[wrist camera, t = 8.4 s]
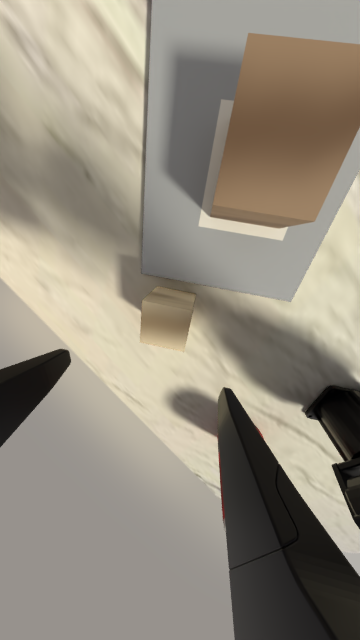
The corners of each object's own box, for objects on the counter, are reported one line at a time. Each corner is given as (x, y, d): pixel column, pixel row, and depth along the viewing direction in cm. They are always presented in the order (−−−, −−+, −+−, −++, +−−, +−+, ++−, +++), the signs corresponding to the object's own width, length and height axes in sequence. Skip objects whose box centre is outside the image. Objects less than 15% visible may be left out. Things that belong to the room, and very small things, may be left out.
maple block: (188, 327, 20) (184, 351, 15) (154, 320, 20) (140, 342, 16) (195, 293, 18) (192, 310, 13) (157, 286, 18) (141, 300, 13)
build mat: (288, 300, 16) (290, 302, 16) (142, 272, 17) (141, 273, 17) (491, -98, 7) (511, -122, 7) (159, -116, 8) (157, -137, 8)
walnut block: (278, 228, 13) (314, 221, 9) (209, 217, 14) (212, 204, 9) (317, 128, 11) (397, 48, 6) (230, 117, 11) (248, 32, 7)
